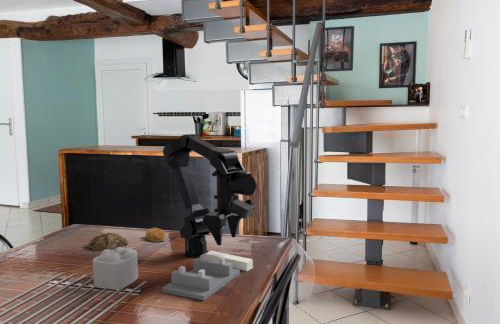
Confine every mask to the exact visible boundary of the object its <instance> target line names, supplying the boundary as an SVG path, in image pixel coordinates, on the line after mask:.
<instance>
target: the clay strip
mask: <svg viewBox="0 0 500 324" xmlns="http://www.w3.org/2000/svg"><path fill="white" fill-rule="evenodd" d="M205 254H206V255H207V260H213V261H219V258H221V257H225V263H231V264H233V269H237V270H240V271H244V272H248V271H250V270H251V269H253V268H254V264H253V263H254V261H253V259H252V258H248V257H243V256H239V255H233V254H230V253H229V254H228V253H224V252H223V253H222V252H218V251H215V250H209V251H208V253H205Z"/></svg>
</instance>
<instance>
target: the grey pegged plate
mask: <svg viewBox="0 0 500 324" xmlns="http://www.w3.org/2000/svg"><path fill="white" fill-rule="evenodd" d="M186 269H187V268H186V266H183V265H181V266H179V267H178V270H177V269H176V270H173V271H172V272H170V278H171V281H170V282H169V283H167V284H166V285H164V286H162V287H161V292H162V293H165V294H171V295H176V296H180V297H184V298H189V299H195V300H200V301H204V302H205V300H207V299H208V298H210V296H211V297H212V295H213V294H215V293H216V292H217V291H219V290H220V289H222V288H223V287H225V286H226V285H227V284H228V283H230V282H231V281H232V280H233V279H235V278H236V277H238V276H240V275H241V270H239V269H235V268H233V264H231V263H225V257H221V258H219V261H213V260H207V255H206V254H202V255H201V256H200V257H198V258H197V257H195V258H194V259H193V269H191V270H190V271H186Z"/></svg>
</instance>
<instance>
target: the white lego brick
mask: <svg viewBox="0 0 500 324" xmlns="http://www.w3.org/2000/svg"><path fill="white" fill-rule="evenodd" d="M100 252H101V253H100V254H99V255H97V256H96V257H94V258H92V275H93V286H94V287H95V286H96V287H95V288H103V287H104V288H105V289H109V290H119V289H122V288H125V287H127V286H129V285H131V284H132V283H134V282H136V281H137V279H139V267H138V266H139V265H138V252H137V250H135V249H133V248H131V247H125V248H124V247H118V248H116V249H114V250H109V249H105V250H103V251H100Z"/></svg>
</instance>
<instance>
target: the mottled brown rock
mask: <svg viewBox="0 0 500 324" xmlns="http://www.w3.org/2000/svg"><path fill="white" fill-rule="evenodd" d="M128 244H129V243H128V240H127V238H125V237H124V236H122V235H120V234H119V233H114V232H103V233H101V234H99V235H96V236H94V237H93V238H92V239H91V240H90V241H89V243H88V246H87V247H88V249H92V251H93V250H94V251H93V252H102V251H101V250H105V249H109V250H112V249H114V250H115V249H116V248H118V247H123V246H125V247H127V246H128ZM123 248H124V247H123Z"/></svg>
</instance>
